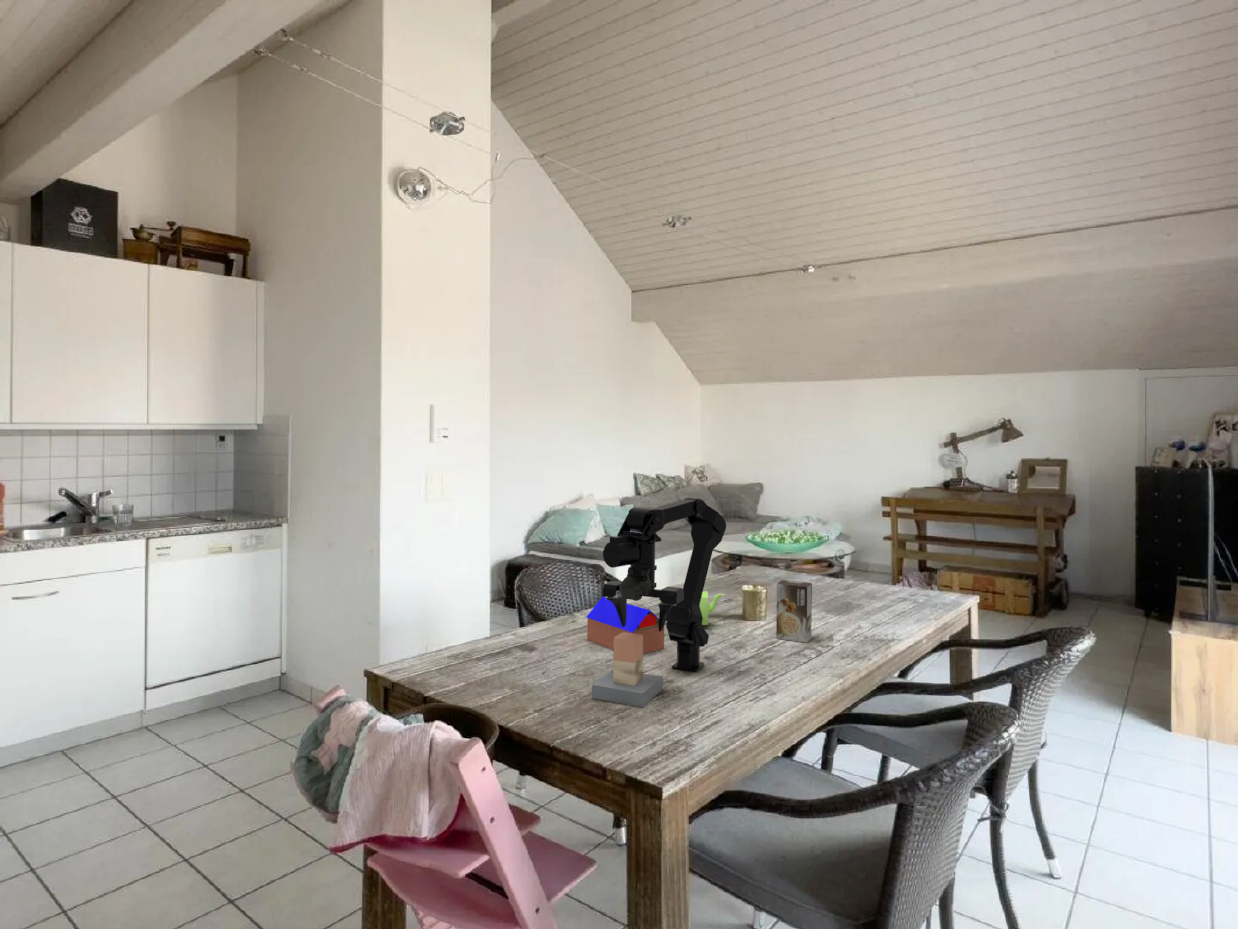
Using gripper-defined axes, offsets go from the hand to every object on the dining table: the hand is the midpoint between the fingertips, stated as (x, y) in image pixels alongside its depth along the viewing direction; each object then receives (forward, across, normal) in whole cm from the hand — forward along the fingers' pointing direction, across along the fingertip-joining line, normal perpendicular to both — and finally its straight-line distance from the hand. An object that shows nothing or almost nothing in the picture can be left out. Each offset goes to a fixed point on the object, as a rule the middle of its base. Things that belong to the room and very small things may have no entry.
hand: (641, 628), depth 168 cm
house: (+13, -16, +27) cm, 34 cm away
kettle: (+13, -6, +54) cm, 56 cm away
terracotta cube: (+5, 0, -8) cm, 9 cm away
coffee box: (+13, +25, +54) cm, 61 cm away
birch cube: (+10, 0, -8) cm, 12 cm away
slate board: (+13, 0, -8) cm, 15 cm away
